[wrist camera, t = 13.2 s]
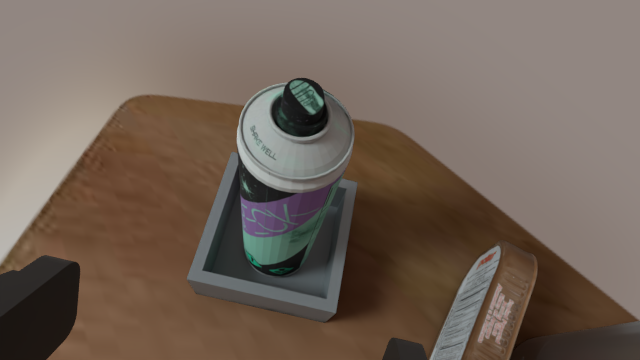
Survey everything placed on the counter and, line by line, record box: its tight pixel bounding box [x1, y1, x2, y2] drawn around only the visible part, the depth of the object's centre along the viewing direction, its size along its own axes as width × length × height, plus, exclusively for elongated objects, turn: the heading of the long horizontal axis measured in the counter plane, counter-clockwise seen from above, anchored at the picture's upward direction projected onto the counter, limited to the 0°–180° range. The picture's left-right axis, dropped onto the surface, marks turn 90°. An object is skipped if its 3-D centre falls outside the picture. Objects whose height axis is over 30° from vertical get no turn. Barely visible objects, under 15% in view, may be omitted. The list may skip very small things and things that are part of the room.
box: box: [187, 152, 358, 323], centre depth 32 cm, size 11×11×5 cm
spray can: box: [237, 78, 354, 278], centre depth 25 cm, size 6×6×20 cm
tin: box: [427, 240, 538, 360], centre depth 30 cm, size 15×3×8 cm, turn 148°
